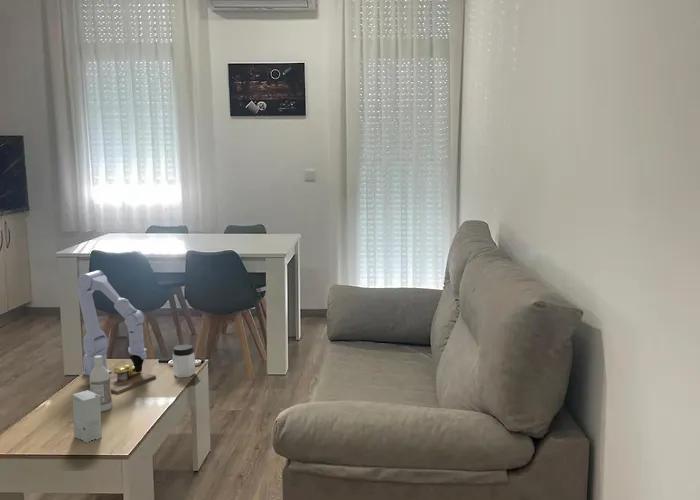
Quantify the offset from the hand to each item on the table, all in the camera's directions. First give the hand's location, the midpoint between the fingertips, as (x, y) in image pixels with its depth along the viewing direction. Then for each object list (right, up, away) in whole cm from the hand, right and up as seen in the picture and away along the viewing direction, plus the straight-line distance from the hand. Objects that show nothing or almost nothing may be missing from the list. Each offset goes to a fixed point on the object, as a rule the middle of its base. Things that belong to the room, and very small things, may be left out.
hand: (138, 371), depth 275 cm
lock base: (-5, -3, -5) cm, 8 cm away
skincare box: (+2, -11, -56) cm, 58 cm away
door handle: (-4, -1, -2) cm, 5 cm away
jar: (+18, -2, +3) cm, 19 cm away
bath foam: (-3, -8, -32) cm, 33 cm away
